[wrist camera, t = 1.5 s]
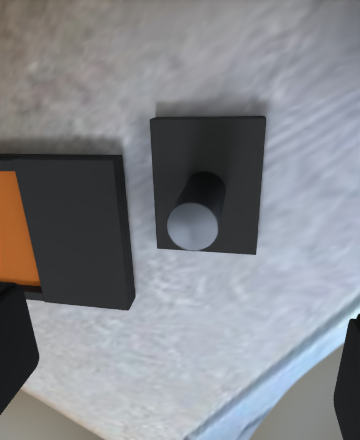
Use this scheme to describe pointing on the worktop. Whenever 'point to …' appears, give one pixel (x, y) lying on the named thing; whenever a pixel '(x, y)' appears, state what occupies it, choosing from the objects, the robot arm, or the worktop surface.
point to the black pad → (216, 155)
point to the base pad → (66, 229)
